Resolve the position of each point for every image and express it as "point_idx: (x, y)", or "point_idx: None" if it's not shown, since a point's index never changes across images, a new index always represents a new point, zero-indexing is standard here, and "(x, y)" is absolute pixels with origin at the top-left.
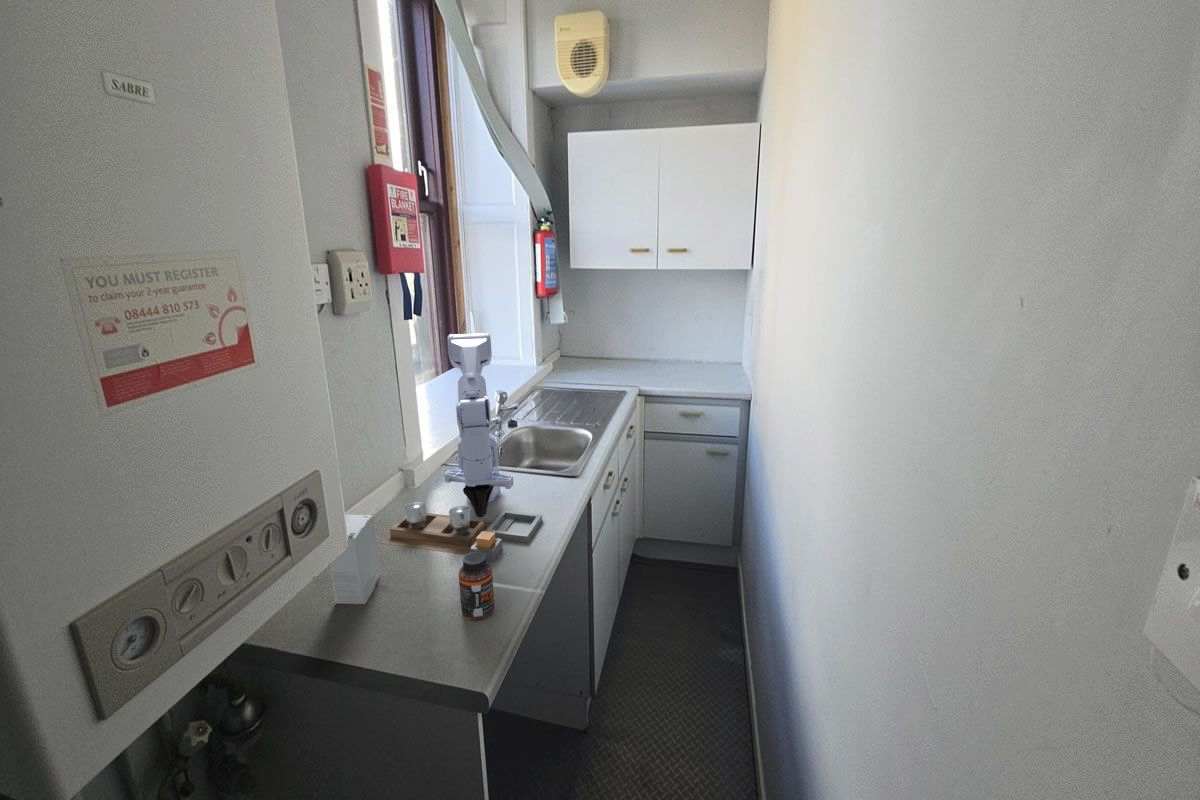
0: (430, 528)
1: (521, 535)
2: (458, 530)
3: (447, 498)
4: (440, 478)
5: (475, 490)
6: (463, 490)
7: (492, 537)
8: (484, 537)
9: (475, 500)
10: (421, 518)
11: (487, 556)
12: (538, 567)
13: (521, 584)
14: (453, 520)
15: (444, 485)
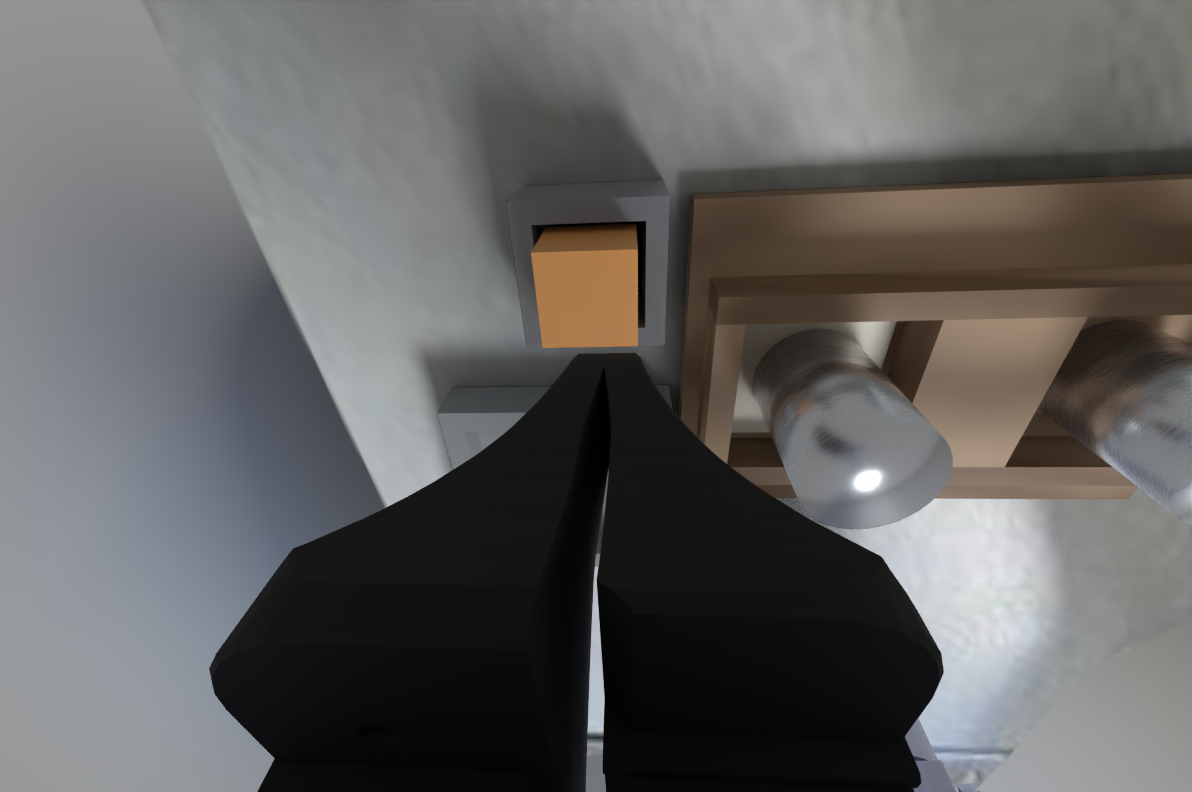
0: (1027, 350)
1: (469, 415)
2: (823, 358)
3: (962, 608)
4: (1022, 698)
5: (480, 649)
6: (910, 616)
7: (540, 302)
8: (581, 274)
9: (610, 464)
10: (1137, 401)
11: (550, 193)
12: (280, 223)
13: (240, 17)
14: (885, 395)
15: (995, 669)
